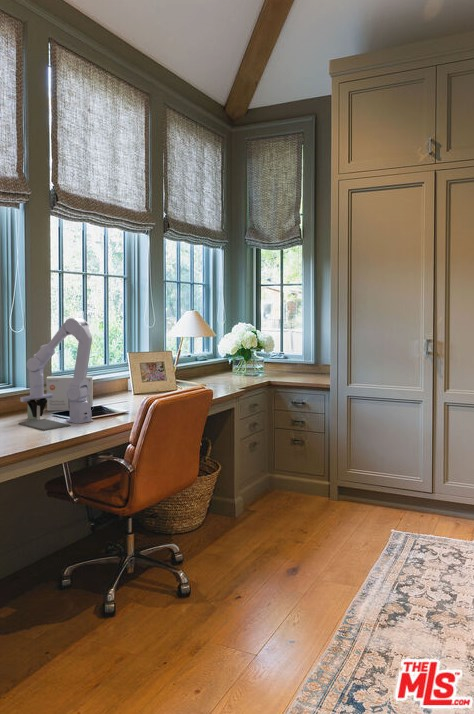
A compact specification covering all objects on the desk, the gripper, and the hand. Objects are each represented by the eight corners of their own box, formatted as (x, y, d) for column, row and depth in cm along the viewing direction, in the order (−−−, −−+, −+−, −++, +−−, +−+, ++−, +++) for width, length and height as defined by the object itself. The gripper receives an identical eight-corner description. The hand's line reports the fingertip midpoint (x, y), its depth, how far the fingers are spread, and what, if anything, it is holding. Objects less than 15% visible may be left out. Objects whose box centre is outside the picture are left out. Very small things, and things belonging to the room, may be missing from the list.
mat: (70, 426, 247) (70, 424, 247) (43, 430, 238) (43, 429, 238) (44, 420, 261) (44, 418, 260) (18, 424, 252) (18, 422, 252)
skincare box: (46, 411, 283) (45, 377, 281) (47, 409, 288) (47, 376, 286) (92, 409, 287) (92, 376, 285) (93, 407, 292) (92, 375, 291)
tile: (40, 419, 262) (40, 406, 261) (36, 420, 260) (35, 406, 260) (31, 417, 266) (31, 404, 266) (27, 418, 265) (27, 404, 264)
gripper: (46, 383, 268) (47, 413, 269) (16, 386, 257) (17, 417, 259) (55, 384, 264) (56, 415, 265) (24, 387, 253) (25, 419, 254)
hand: (37, 416), depth 261 cm, fingers closed on tile, 2 cm apart
